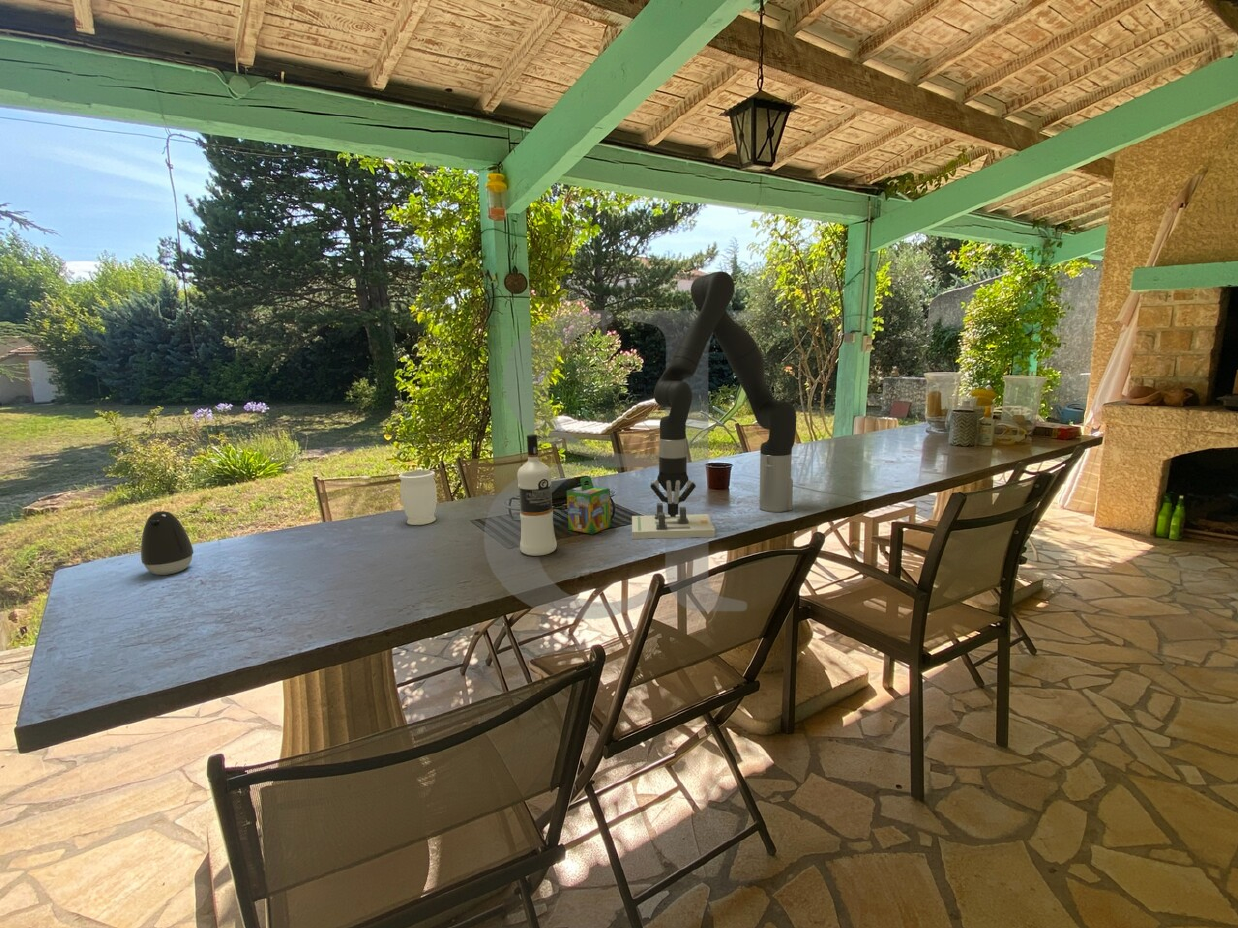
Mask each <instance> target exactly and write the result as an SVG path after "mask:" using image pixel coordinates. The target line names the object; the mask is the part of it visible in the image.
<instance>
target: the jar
mask: <svg viewBox="0 0 1238 928" xmlns="http://www.w3.org/2000/svg"><path fill="white" fill-rule="evenodd" d="M435 476H436V472H435V471H434V470H428V469H427V470H423V469H422V470H411V471H407V472H402V473H400V474H399V475H398V478H399V479H398V480H400V487H399V488H400V489H399V490H400V491H399V492H400V499H401V503H402V506H403V510H404V513H405V515H406V517H407V521H406V523H407V524H408V525H411V526H422V525H427V524H431V523H433V522H435V521H436V519H437V518H436V516H435V515H434V514H435V513H436V509H437V497H438V493H437V491H438V490H437V485H436V484H437V483H436V481H435V479H434V477H435Z"/></svg>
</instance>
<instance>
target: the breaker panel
mask: <svg viewBox="0 0 1238 928" xmlns="http://www.w3.org/2000/svg"><path fill="white" fill-rule="evenodd" d="M686 518H688V521H689V523H678V520H677V519H680V514H678V515H676V517H670V515H669V514H667V515H666V514H665V524H667V529H657V527H656V524H659V520H658V518H655V515H632V516H631V532H632V533H631V534H632V540H646V538H657V539H689V538H691V537H700V538H715V537H716V528H715V527H714V524H713V522H712V520H711V518H710V516H709V514H708V513H705V514H699V513H698V514H697V513H696V514H686Z"/></svg>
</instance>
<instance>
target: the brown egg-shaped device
mask: <svg viewBox="0 0 1238 928" xmlns="http://www.w3.org/2000/svg"><path fill="white" fill-rule="evenodd" d="M141 536H142V537H141V544H140V561H141V564H143V565H144V567H145V568H146V570H147V571H148V572H150V573H151V574H154V575H158V576H169V575H174V574H177V573H180V572H182V571H184V570H185V569H187V568H188V567H189V566H190V564H191V562H192V559H193V554H194V549H193V545H192V542H191V540H190V538H189V535H188V533H187V531H186V529H185V528H184V526H183V525H182V522H180V520H179V519H178V517H176V516H175V515H174V514H173V513H171V512H169V511H165V510H160V511H156V512H154V513H152V514H151V515H149V517H148V518H147V520H146V522H145V523H144V527H143V530H142V535H141Z"/></svg>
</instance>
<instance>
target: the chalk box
mask: <svg viewBox="0 0 1238 928" xmlns="http://www.w3.org/2000/svg"><path fill="white" fill-rule="evenodd" d="M579 482H580V485H581V486H578V487H574V488H573V487H572V488H571V489H567V490H566V505H567V507H566V508H567V509H566V510H567V524H568V525H567V527H568V530H569V531H574V532H580V533H584V534H588V535H594V534H596V533H599V532H601V531H604V530H607V529H609V528H611V527H612V516H611V515H612V513H611V512H612V511H611V510H612V508H611V488H607V487H601V486H597V485H593V481H592V477H591V476H590V475H589V476H585V477H581V478H580V479H579ZM585 482H588V484H586V485H585Z"/></svg>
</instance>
